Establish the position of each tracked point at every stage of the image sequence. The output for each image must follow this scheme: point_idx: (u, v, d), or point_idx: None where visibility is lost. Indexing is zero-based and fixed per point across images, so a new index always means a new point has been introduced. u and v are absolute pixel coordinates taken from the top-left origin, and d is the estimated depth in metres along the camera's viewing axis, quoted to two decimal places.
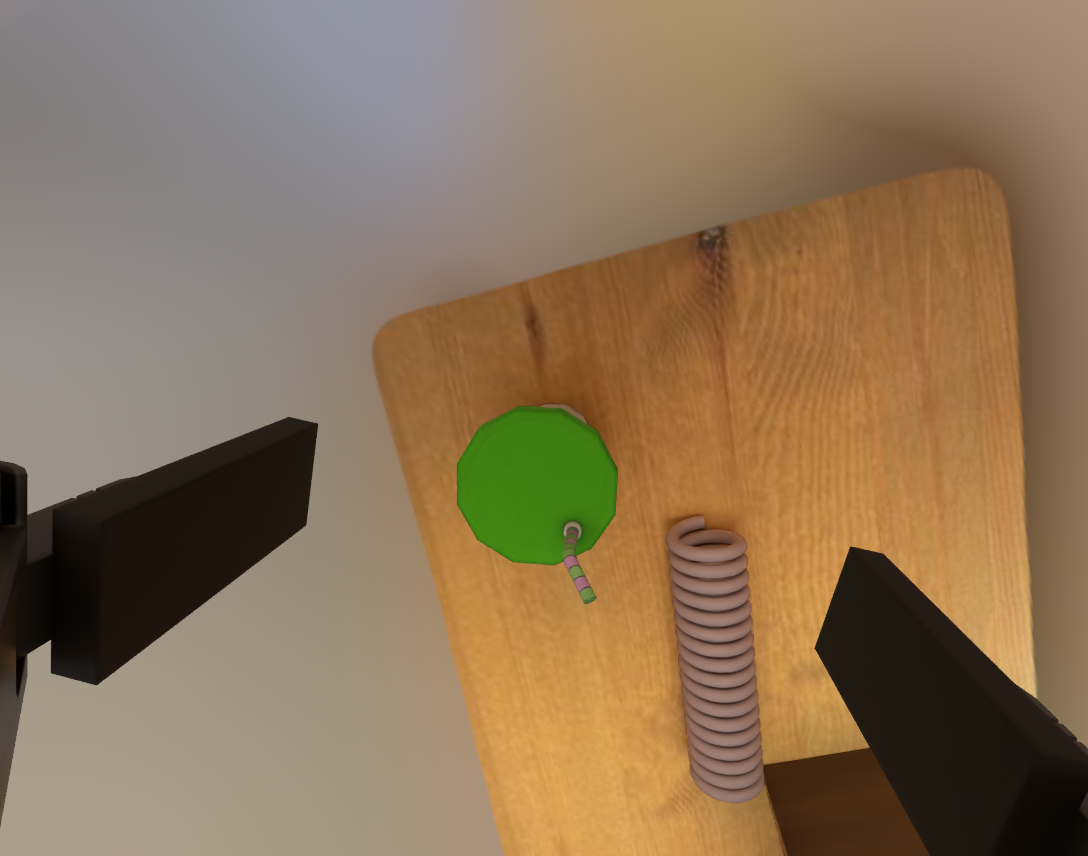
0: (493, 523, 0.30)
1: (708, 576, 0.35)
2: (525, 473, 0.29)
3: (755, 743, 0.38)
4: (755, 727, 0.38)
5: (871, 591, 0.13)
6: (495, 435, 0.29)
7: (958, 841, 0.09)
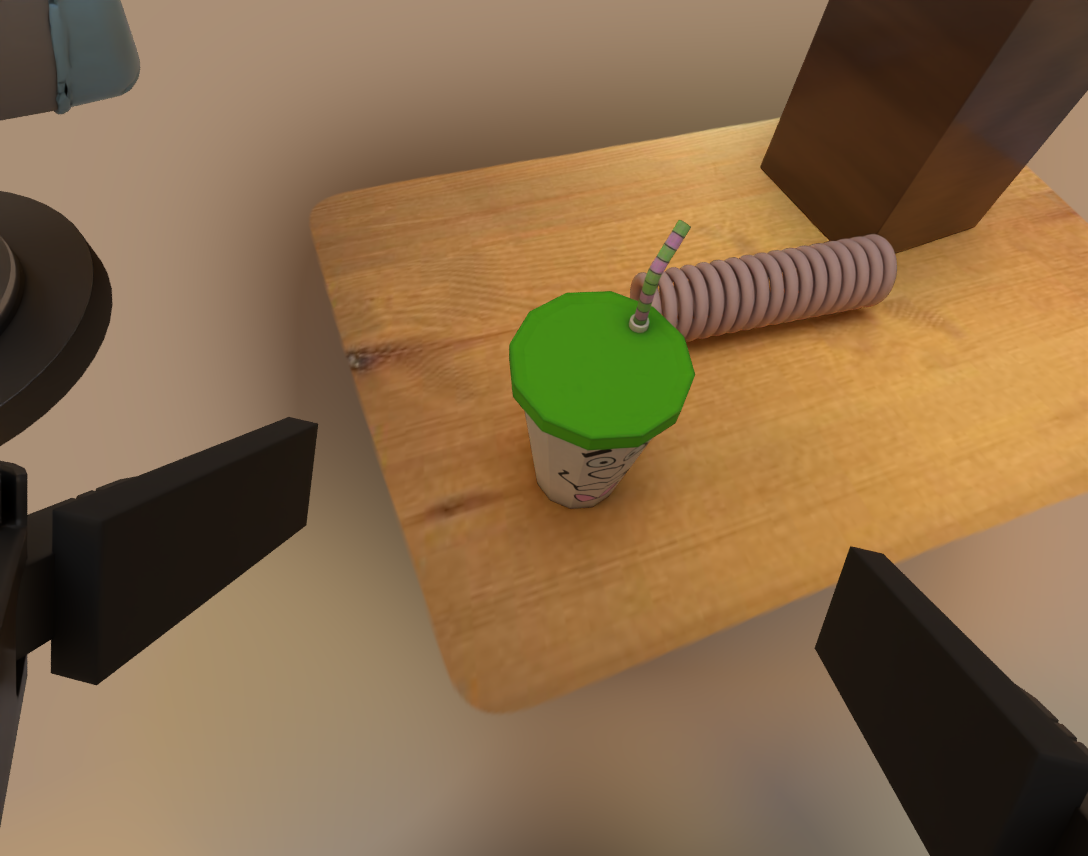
0: (655, 398, 0.25)
1: (671, 285, 0.36)
2: (586, 371, 0.25)
3: (823, 244, 0.40)
4: None
5: (871, 591, 0.13)
6: (547, 402, 0.25)
7: (958, 841, 0.09)
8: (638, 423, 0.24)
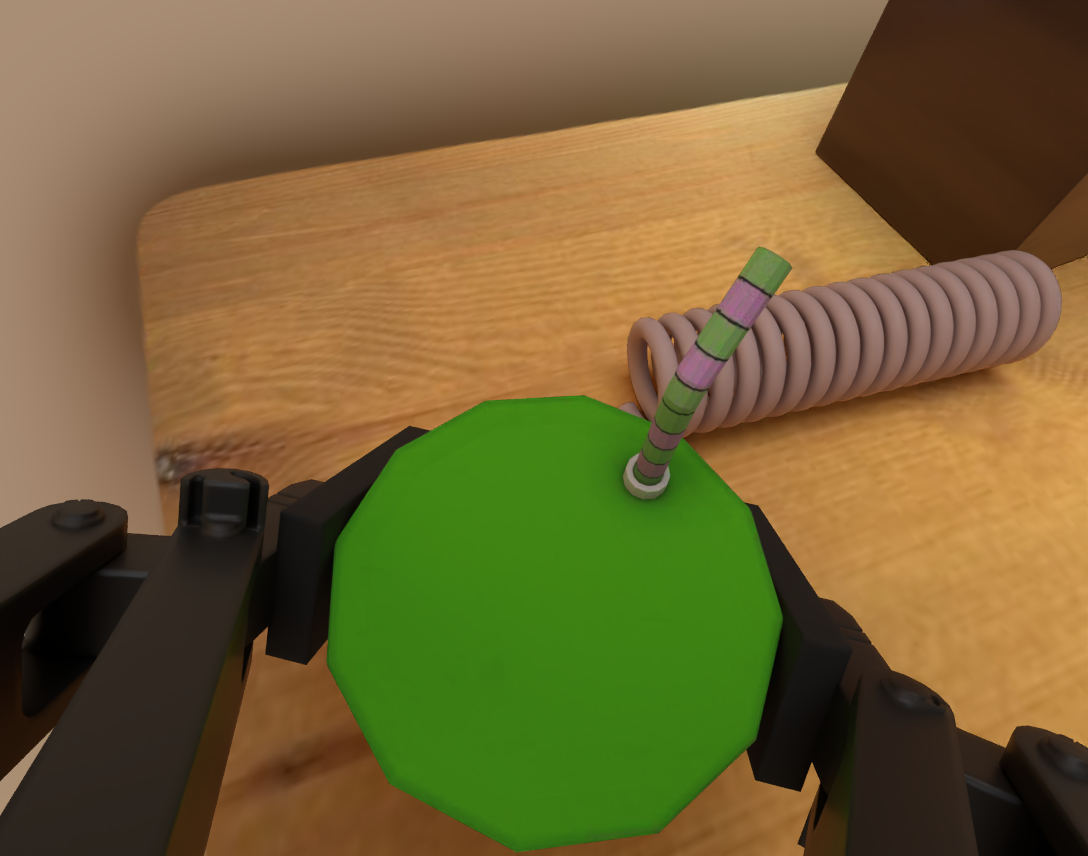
0: (688, 694, 0.10)
1: None
2: (517, 613, 0.10)
3: (936, 266, 0.25)
4: None
5: None
6: (410, 721, 0.09)
7: None
8: (646, 782, 0.09)
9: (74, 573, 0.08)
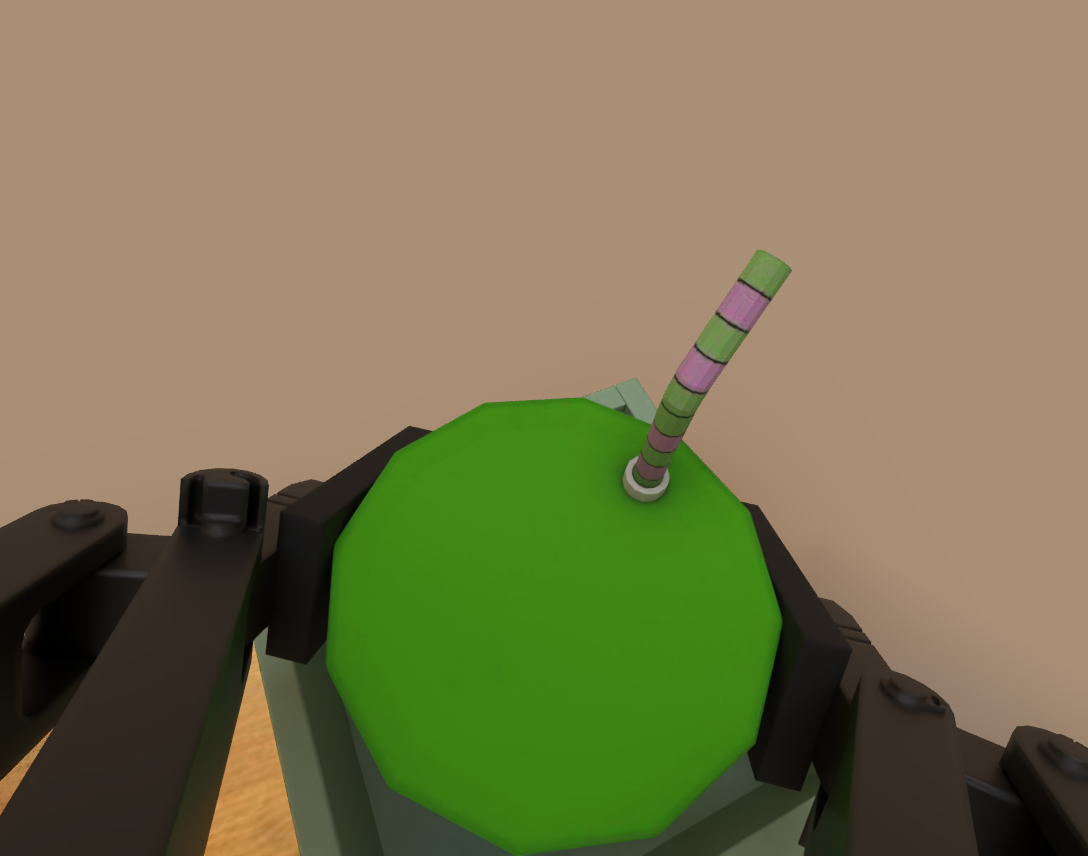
0: (688, 697, 0.10)
1: None
2: (516, 616, 0.10)
3: None
4: None
5: None
6: (409, 724, 0.09)
7: None
8: (646, 786, 0.09)
9: (74, 573, 0.08)
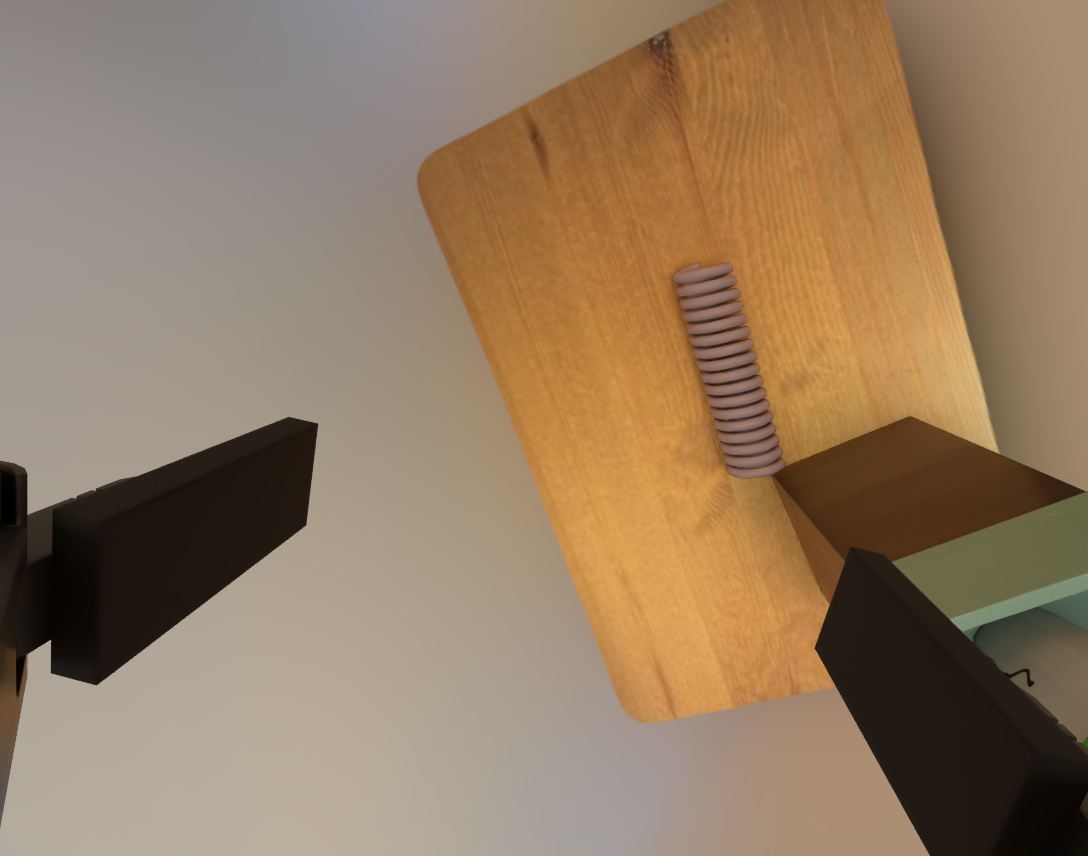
0: None
1: (707, 288, 0.46)
2: None
3: (771, 426, 0.48)
4: (768, 414, 0.48)
5: (870, 591, 0.13)
6: None
7: (958, 841, 0.09)
8: None
9: None
